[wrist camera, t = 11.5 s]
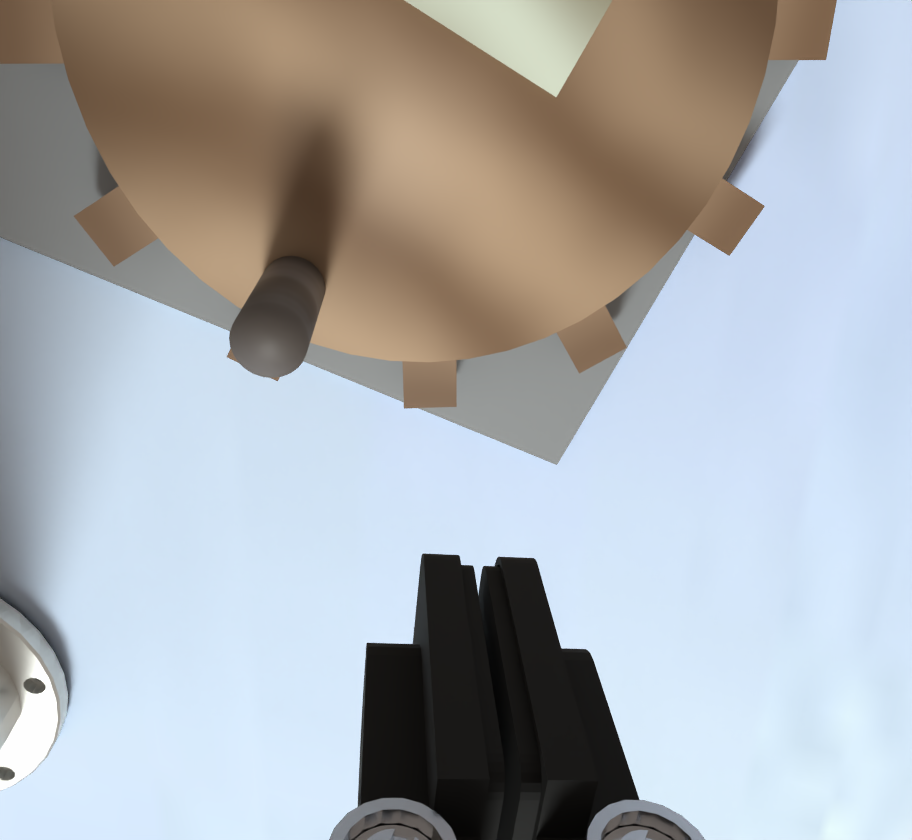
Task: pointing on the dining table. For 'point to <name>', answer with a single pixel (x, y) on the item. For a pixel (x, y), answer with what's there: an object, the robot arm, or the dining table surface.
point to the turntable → (416, 158)
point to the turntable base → (172, 283)
